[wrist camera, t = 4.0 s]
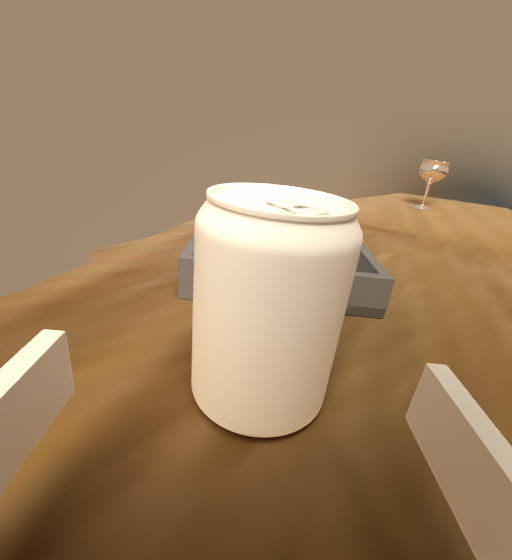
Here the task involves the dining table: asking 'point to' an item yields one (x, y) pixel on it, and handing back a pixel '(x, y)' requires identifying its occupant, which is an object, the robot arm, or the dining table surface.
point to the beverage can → (269, 303)
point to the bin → (363, 297)
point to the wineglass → (431, 175)
